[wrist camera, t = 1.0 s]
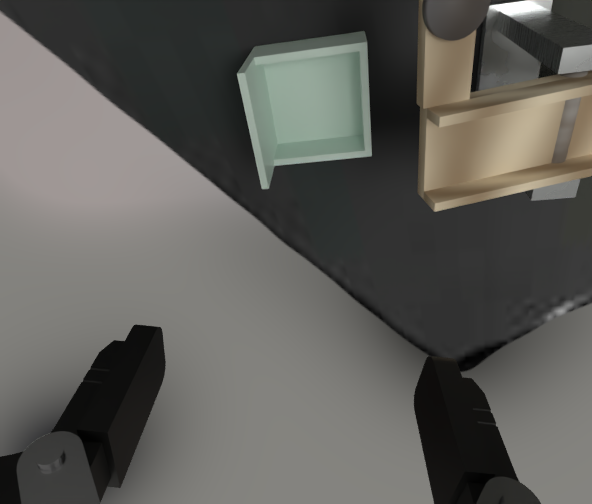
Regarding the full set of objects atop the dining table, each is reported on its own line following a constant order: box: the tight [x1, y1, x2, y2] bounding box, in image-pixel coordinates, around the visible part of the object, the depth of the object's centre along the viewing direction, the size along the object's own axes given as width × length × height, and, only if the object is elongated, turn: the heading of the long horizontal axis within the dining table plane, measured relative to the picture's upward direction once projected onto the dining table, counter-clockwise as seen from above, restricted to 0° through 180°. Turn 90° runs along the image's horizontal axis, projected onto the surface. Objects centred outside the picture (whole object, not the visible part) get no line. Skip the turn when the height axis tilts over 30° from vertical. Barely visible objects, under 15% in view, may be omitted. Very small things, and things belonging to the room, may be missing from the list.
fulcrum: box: [476, 0, 592, 201], centre depth 27 cm, size 4×9×11 cm, turn 8°
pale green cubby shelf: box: [237, 31, 372, 189], centre depth 31 cm, size 8×8×7 cm
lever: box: [417, 0, 592, 212], centre depth 21 cm, size 16×12×3 cm
